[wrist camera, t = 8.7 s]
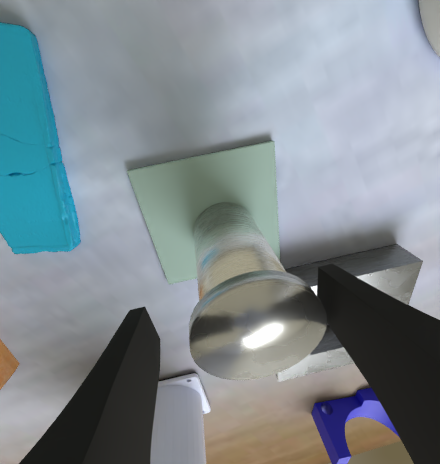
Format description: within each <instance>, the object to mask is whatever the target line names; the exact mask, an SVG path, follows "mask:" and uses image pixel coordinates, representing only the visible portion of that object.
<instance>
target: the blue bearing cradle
mask: <svg viewBox="0 0 440 464" xmlns="http://www.w3.org/2000/svg"><path fill="white" fill-rule="evenodd" d="M312 416H313V419H314V421H315V424H316V426H317V429H318V431H319V433H320V436H321V438H322V441H323V443H324V445H325V448H326V450H327V453H328V455H329V457H330V460H331V462H332V464H347V463H348V461H349V459H350V458H351V454H350V452H349V450H348V447H347V443H346V439H345V423H346V422H347V421H348V420H350V419H352V418H355V417H367V418H371V419H374V420H376V421H378V422H380V423H382V424H384V425H385V426H387V427H388V428H390V429H391V430H392V431H393V432H394V433H396V434H397V435H398V433H397V431H396V430H395V428H394V426H393V424H392V422H391V421H390V419H389V417H388V415H387V414H386V412H385V410H384V408H383V407H382V405H381V403H380V402H379V400H378V398H377V396H376V395H375V393H374V391H373V390H372V388H367V389H361V390H358V391H357V393H356V395H355V396H352V397H346V398H341V399H336V400H330V401H325V402H319V403H315V404H314V408H313V411H312ZM398 436H399V435H398Z"/></svg>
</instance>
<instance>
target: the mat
mask: <svg viewBox="0 0 440 464" xmlns="http://www.w3.org/2000/svg"><path fill="white" fill-rule="evenodd" d="M127 173H128V176H129V178H130V181H131V184H132V187H133V189H134V192H135V195H136V197H137V200H138V203H139V205H140V208H141V211H142V213H143V216H144V219H145V222H146V224H147V227H148V230H149V232H150V235H151V238H152V240H153V243H154V246H155V248H156V251H157V254H158V257H159V259H160V262H161V265H162V267H163V270H164V273H165V275H166V278H167V281H168V283H169V284H174V283H178V282H182V281H187V280H191V279H196V278H197V269H196V257H195V246H194V235H193V228H194V224H195V221H196V219H197V217H198V216H199V215H200V214H201V213H202V211H204V210H205V209H206V208H208V207H209V206H211V205H213V204H217V203H221V202H232V203H236V204H239V205H241V206H243V207H244V208H245V209H247V210H248V212H249V213H250V214H251V216H252V217H253V219H254V221H255V222H256V224H257V225H258V227H259V229H260V230H261V232H262V233H263V235H264V237H265V238H266V240H267V242H268V243H269V245H270V246H271V248H272V250H273V251H274V253H275V255H276V256H277V258H278V259H279V260H280V247H279V226H278V206H277V185H276V165H275V145H274V141H268V142H263V143H258V144H253V145H248V146H244V147H239V148H234V149H229V150H224V151H219V152H214V153H209V154H204V155H200V156H195V157H190V158H185V159H180V160H175V161H170V162H165V163H161V164H156V165H151V166H146V167H141V168H136V169H131V170H128V171H127Z"/></svg>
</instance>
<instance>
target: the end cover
mask: <svg viewBox="0 0 440 464" xmlns="http://www.w3.org/2000/svg"><path fill="white" fill-rule="evenodd" d="M193 235H194V246H195V257H196V269H197V280H198V291H199V302H198V304H197V305H196V307H195V308H194V310H193V312H192V315H191V318H190V323H189V340H190V352H191V355H192V358H193V359H194V361H195V363H196V364H197V365H198V366H199V367H200V368H201V369H203V370H204V371H205V372H207V373H209V374H211V375H214V376H216V377H220V378H223V379H229V380H252V379H258V378H263V377H267V376H271V375H274V374H277V373H279V372H282V371H284V370H286V369H288V368H290V367H292V366H294V365H295V364H297V363H299V362H300V361H301V360H303V359H304V358H305V357H307V356H308V355H309V354H310V353H311V352H312V351H313V350H314V349H315V348H316V346H317V345H318V344H319V342H320V341H321V339H322V337H323V335H324V333H325V330H326V327H327V314H326V311H325V308H324V306H323V304H322V303H321V301H320V300H319V299H318V297H317V296H316V294H315V293H314V291H313V290H312V289H311V287H310V286H309V285H308V284H307V283H306V282H305V281H304V280H302V279H300V278H299V277H297V276H295V275H292V274H290V273H287V272H286V271H285V269H284V267H283V266H282V264H281V263H280V261H279V259H278V258H277V256H276V255H275V253H274V251H273V250H272V248H271V246H270V245H269V243H268V242H267V240H266V238H265V237H264V235H263V233H262V232H261V230H260V229H259V227H258V225H257V224H256V222H255V221H254V219H253V217H252V216H251V214H250V213H249V212H248V210H247V209H245V208H244V207H243V206H241V205H239V204H236V203H232V202H221V203H217V204H213V205H211V206H209V207H208V208H206V209H205V210H204V211H202V213H201V214H200V215H199V216H198V217H197V219H196V221H195V224H194V228H193Z"/></svg>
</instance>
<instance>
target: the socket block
mask: <svg viewBox="0 0 440 464" xmlns="http://www.w3.org/2000/svg"><path fill="white" fill-rule="evenodd" d="M422 262H423V261H422V260H420V259H419V258H417V257H416V256H414V255H413V254H411V253H410V252H408V251H407V250H405V249H404V248H402V247H401V246H399V245H398V244H395V245H391V246H386V247H382V248H378V249H373V250H369V251H364V252H360V253H356V254H351V255H347V256H342V257H338V258H334V259H329V260H325V261H320V262H316V263H312V264H307V265H303V266H298V267H294V268H290V269H285V271H286V272H287V273H290V274H292V275H295V276H297V277H299V278H300V279H302V280H304V281H305V282H306V283H307V284H308V285H309V286H310V287H311V289H312V290H313V291H314V293H315V294H316V296H317V283H318V267H320V266H325V265H329V264H334V265H336V266H338V267H340V268H341V269H343V270H345V271H347V272H348V273H350V274H352V275H354V276H355V277H357V278H359V279H361V280H362V281H364V282H366V283H368V284H370V285H371V286H373V287H375V288H377V289H379V290H380V291H382V292H384V293H386V294H388V295H390V296H392V297H393V298H395V299H397V300H399V301H401V302H403V303H405V304H407V305H408V304H409V301H410V298H411V295H412V292H413V289H414V286H415V283H416V280H417V277H418V274H419V271H420V268H421V265H422ZM353 363H354V361H353V360H352V359H351V357H350V356H349V354H348V353H347V351H346V350H345V348H344V347H343V346H342V344H341V343H340V341H339V340H338V338H337V337H336V335H335V334H334V332H333V331H332V329H331V328H330V326H327V327H326V330H325V333H324V335H323V337H322V339H321V341H320V342H319V344H318V345H317V346H316V348H315V349H314V350H313V351H312V352H311V353H310V354H309V355H308V356H307V357H305V358H304V359H303V360H301V361H300V362H299V363H297V364H295V365H294V366H292V367H290V368H288V369H286V370H284V371H282V372H279V373H277V374H276V376H277V379H278V382H279V381H283V380H288V379H292V378H296V377H300V376H304V375H308V374H312V373H316V372H320V371H324V370H328V369H332V368H336V367H340V366H344V365H349V364H353Z"/></svg>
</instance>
